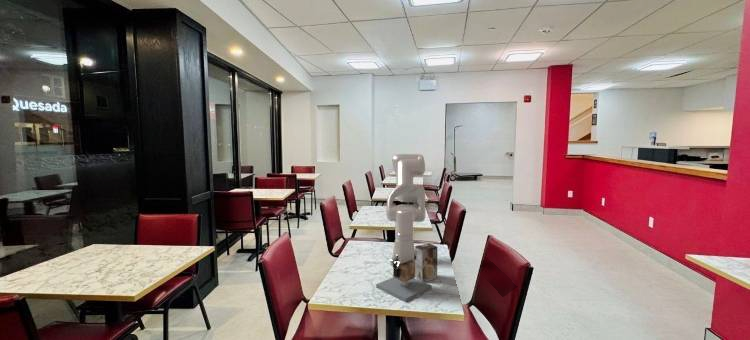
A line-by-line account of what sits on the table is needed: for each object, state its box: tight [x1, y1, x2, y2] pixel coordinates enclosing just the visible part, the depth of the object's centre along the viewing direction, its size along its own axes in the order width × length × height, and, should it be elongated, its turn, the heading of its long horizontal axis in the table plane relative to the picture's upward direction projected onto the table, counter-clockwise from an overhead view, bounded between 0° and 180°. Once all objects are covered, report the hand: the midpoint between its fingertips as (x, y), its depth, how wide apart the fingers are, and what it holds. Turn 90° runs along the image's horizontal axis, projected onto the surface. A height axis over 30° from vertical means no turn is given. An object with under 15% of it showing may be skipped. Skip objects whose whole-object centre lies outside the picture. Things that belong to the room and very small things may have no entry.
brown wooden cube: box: [392, 261, 416, 282], centre depth 141 cm, size 7×7×7 cm
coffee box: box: [414, 243, 438, 283], centre depth 152 cm, size 9×6×16 cm
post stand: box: [375, 276, 433, 303], centre depth 141 cm, size 18×18×10 cm
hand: (404, 273), depth 141 cm, fingers open, 9 cm apart
